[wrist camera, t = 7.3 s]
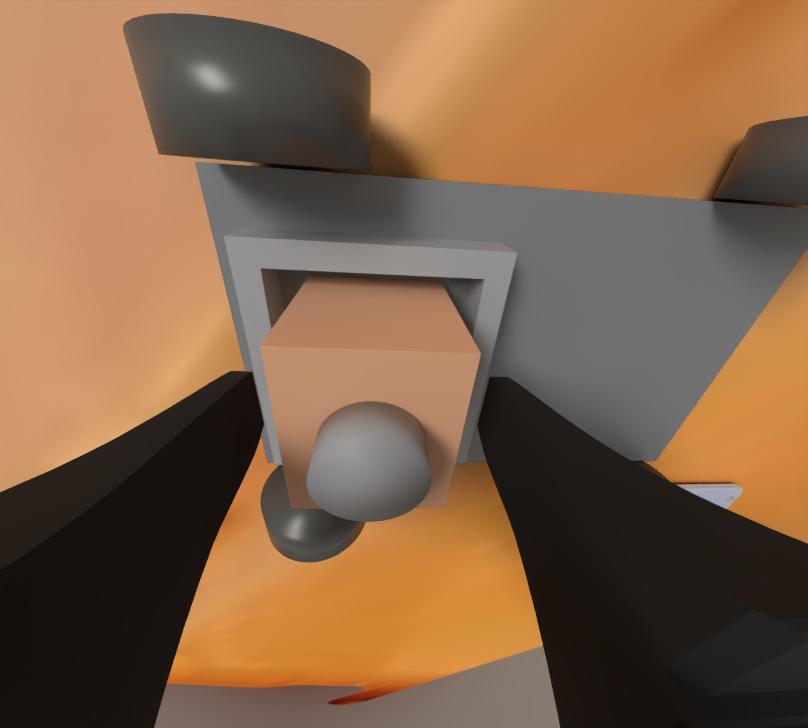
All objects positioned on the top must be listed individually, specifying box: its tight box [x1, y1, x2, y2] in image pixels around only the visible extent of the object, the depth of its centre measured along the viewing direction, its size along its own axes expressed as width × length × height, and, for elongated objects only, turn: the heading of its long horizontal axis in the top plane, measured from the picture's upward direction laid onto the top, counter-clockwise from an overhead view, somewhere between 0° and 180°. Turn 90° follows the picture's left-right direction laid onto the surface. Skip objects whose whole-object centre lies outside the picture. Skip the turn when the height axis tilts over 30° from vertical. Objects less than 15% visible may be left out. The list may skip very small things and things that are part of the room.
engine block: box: [260, 274, 481, 522], centre depth 9 cm, size 5×4×6 cm
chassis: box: [123, 13, 808, 562], centre depth 11 cm, size 16×20×5 cm
